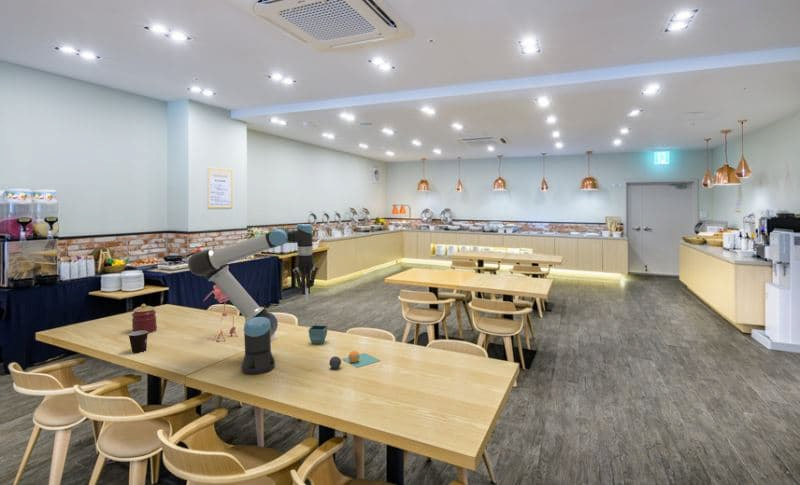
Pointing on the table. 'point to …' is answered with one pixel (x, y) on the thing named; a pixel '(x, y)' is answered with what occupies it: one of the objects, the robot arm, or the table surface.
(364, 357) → the teal mark
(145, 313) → the canister
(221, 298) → the pink stick figure
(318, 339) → the flower pot
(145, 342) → the coffee mug
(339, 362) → the black ball
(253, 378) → the table surface
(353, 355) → the orange ball
